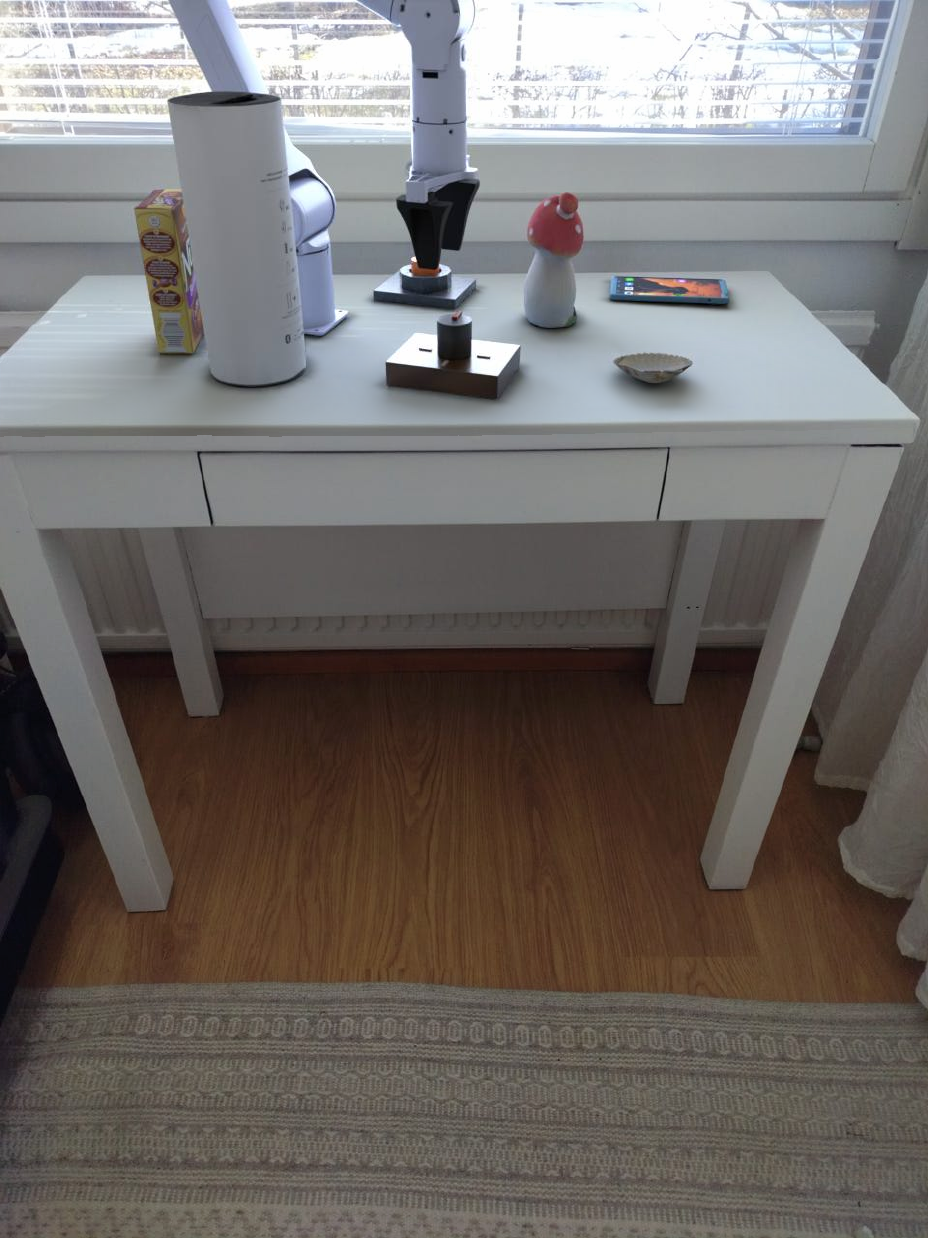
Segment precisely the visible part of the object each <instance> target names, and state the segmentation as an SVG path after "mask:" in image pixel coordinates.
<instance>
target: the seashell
mask: <svg viewBox="0 0 928 1238" xmlns="http://www.w3.org/2000/svg"><path fill="white" fill-rule="evenodd" d="M612 362H613V364H614V365H615V366H616V367H618V368H619V369H620V370H621V371H623V372H625V373H626V374H628V375H629V376H631V377H633V378H635V379H638V380H639V381H642V382H645V383H649V384H661V383H665V382H668V381H670V380H672V379H673V378H675V377H677V376H679V375H680V374H682V373H683V372H685V371H686V370H687V369H689V368H690V367H691V366H693V361H692V360H691V359H690V358H688V357H684V356H681V355H680V356H679V355H678V354H677V355H676V354H675V355H673V354H668V353H660V352H656V353H654V352H649V353H648V352H643V353H639V352H638V353H636V354H635V353H631V354H625V355H621V356H618V357H616V358H614V359H613V360H612Z"/></svg>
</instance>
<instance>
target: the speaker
mask: <svg viewBox="0 0 928 1238" xmlns="http://www.w3.org/2000/svg"><path fill="white" fill-rule="evenodd" d="M166 103H167V108H168V115H169V121H170V126H171V132H172V139H173V145H174V151H175V158H176V163H177V165H176V166H177V170H178V176H179V182H180V189H181V190H182V196H183V202H184V209H185V215H186V221H187V228H188V234H189V240H190V247H191V253H192V259H193V266H194V272H195V279H196V285H197V291H198V298H199V304H200V310H201V317H202V323H203V329H204V335H203V336H204V341H205V348H206V354H207V361H208V366H209V372H210V374H211V376H212V377H213V378H214V379H215V380H216V381H219V382H220V383H223V384H225V385H231V386H237V387H248V388H249V387H251V388H254V387H267V386H273V385H278V384H283V383H286V382H289V381H292V380H293V379H295V378H297V377H299V376H301V375H302V374H303V373H304V371H305V369H306V367H307V356H306V345H305V334H304V331H303V321H302V310H301V299H300V288H299V278H298V267H297V257H296V247H295V237H294V226H293V216H292V206H291V196H290V186H289V175H288V165H287V155H286V144H285V134H284V128H285V126H284V125H285V124H284V114H283V105H282V104H283V103H282V97H280V96H278V95H275V94H270V93H269V94H261V93H251V92H232V91H219V92H212V91H204V92H195V93H188V94H182V95H178V96H173V97H170V98H167V100H166Z"/></svg>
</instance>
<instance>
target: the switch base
mask: <svg viewBox="0 0 928 1238" xmlns="http://www.w3.org/2000/svg"><path fill="white" fill-rule="evenodd" d="M452 272H453V271H452V269H451V268H450V266H447V265H444V264H441V263H439V273H438V274H434V275H416V274H413V273H411V264H407V265H403V266H402V267H401V268H400V269H399V270H397V271H396V272H394V274H393V275H391V276H390V277H388V278H387V279H386V280H385V281H384V282H382V283H381V284H380V285H379V286H377V287H376V288H375V289H374V290H372V291H373V300H374V301H381V302H389V303H400V304H407V305H417V306H426V307H434V308H443V309H454V310H455V309H457V308H458V307H459V306H460V305H461V304H462V303H463V302H464V301H465V300H466V299H467V297H468V296H469V295H471V294H472V293H473V292H474V291H475V290H476V288H477V278H473V277H464V276H463V277H462V276H454V275H452Z"/></svg>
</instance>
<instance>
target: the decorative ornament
mask: <svg viewBox="0 0 928 1238" xmlns="http://www.w3.org/2000/svg"><path fill="white" fill-rule="evenodd" d="M578 209H579V200H578V198H577V196H576V195H575V194H573V193H571V192H563V193H562V194H560V195H552V196H549V197H547V198H546V199H543V201H541V202H540V203H539V204H538V205H537V206H536V208H535V209H534V211H533V212H532V214H531V216H530V219H529V221H528V224H527V228H526V238H527V239H526V240H527V241H528V243H529V245H530V246H531V247H534V248H535V254H534V257H533V260H532V261H531V264H530V266H529V269H528V271H527V274H526V277H525V280H524V285H523V308H524V315H525V317H526V319H527V320H528V322H529V323H530V324H532V325H535V326H538V327H540V328H549V329H554V328H568V327H571V326H572V325H573V324H575V322H576V321H577V320H578V314H577V311H576V307H575V302H576V298H577V297H576V295H577V283H576V281H577V280H576V273H575V268H574V266H573V262H572V259H571V258H574V257H575V256H577V255H578V254H579V253H580V251H581V249H582V247H583V244H584V239H585V238H584V224H583V222H582V219H581V215H580V214H579V212H578Z"/></svg>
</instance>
